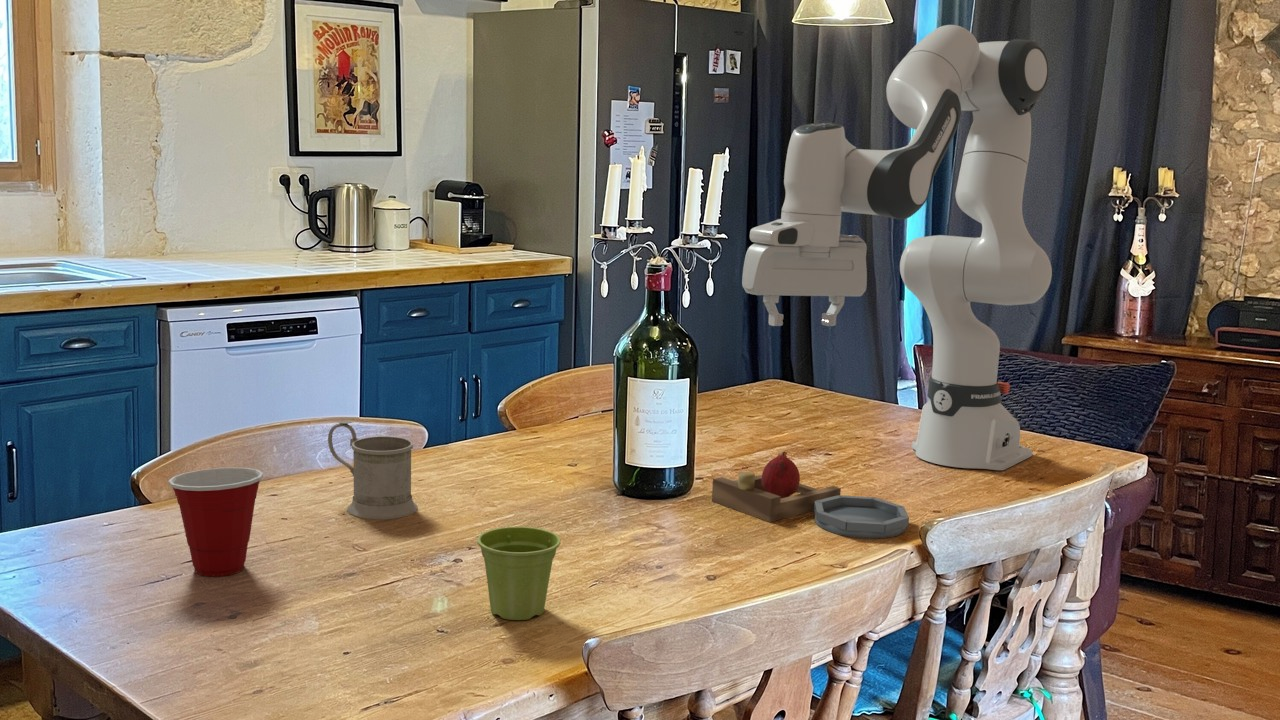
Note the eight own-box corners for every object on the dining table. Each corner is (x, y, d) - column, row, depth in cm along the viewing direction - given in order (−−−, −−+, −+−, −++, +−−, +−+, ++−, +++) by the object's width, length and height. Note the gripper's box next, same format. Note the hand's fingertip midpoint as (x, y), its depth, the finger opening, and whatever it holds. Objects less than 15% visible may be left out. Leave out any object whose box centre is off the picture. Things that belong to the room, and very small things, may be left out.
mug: (430, 505, 177) (431, 425, 175) (389, 524, 168) (390, 439, 166) (350, 490, 183) (350, 412, 180) (306, 506, 174) (305, 425, 172)
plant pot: (478, 595, 144) (479, 525, 142) (557, 595, 145) (559, 526, 143) (474, 627, 135) (475, 552, 133) (559, 627, 135) (561, 553, 134)
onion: (796, 509, 182) (800, 457, 181) (758, 505, 183) (761, 454, 182) (799, 498, 188) (802, 448, 186) (762, 494, 189) (765, 444, 187)
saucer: (853, 505, 185) (854, 491, 185) (924, 527, 176) (925, 513, 175) (796, 520, 177) (797, 505, 176) (866, 544, 167) (868, 529, 167)
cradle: (784, 484, 195) (786, 451, 194) (842, 503, 186) (844, 468, 185) (710, 501, 184) (712, 466, 183) (768, 522, 175) (771, 485, 174)
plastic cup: (241, 547, 156) (239, 457, 154) (280, 571, 149) (279, 476, 146) (157, 564, 149) (153, 470, 147) (193, 591, 141) (190, 491, 139)
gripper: (854, 234, 188) (847, 322, 190) (740, 229, 179) (733, 322, 181) (879, 237, 182) (871, 328, 184) (762, 232, 173) (755, 328, 175)
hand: (802, 325), depth 183 cm, fingers open, 8 cm apart
